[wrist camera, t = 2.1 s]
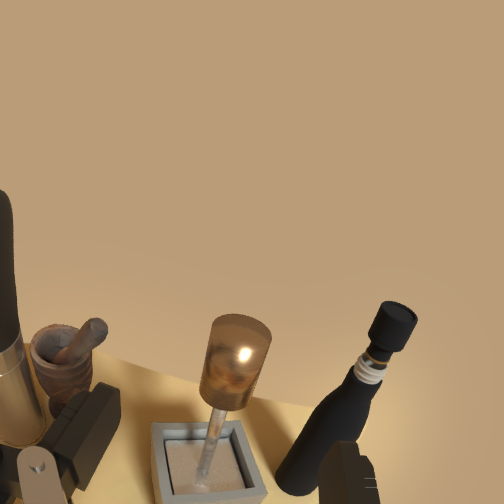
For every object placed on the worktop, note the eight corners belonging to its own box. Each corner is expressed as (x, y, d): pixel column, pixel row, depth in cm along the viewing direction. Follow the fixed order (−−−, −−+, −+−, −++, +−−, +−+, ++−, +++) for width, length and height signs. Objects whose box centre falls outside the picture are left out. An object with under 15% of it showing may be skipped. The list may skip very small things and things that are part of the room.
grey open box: (161, 534, 25) (163, 504, 21) (150, 470, 34) (151, 422, 29) (241, 526, 29) (267, 493, 24) (222, 467, 37) (240, 420, 33)
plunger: (174, 499, 23) (196, 369, 16) (164, 444, 30) (181, 298, 23) (244, 493, 26) (312, 365, 19) (227, 441, 32) (273, 303, 25)
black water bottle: (268, 486, 35) (365, 314, 25) (283, 456, 41) (370, 286, 30) (310, 502, 34) (433, 340, 23) (322, 470, 39) (427, 308, 28)
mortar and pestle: (121, 397, 44) (120, 292, 37) (113, 440, 36) (102, 335, 29) (55, 382, 42) (38, 275, 34) (40, 421, 34) (8, 312, 27)
